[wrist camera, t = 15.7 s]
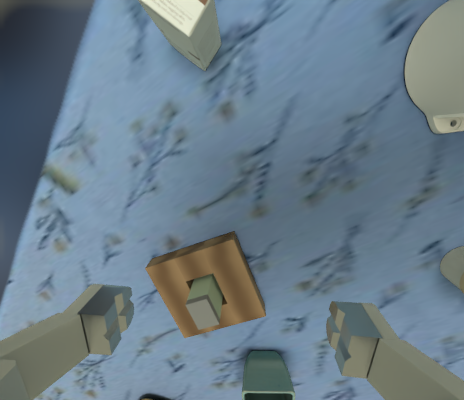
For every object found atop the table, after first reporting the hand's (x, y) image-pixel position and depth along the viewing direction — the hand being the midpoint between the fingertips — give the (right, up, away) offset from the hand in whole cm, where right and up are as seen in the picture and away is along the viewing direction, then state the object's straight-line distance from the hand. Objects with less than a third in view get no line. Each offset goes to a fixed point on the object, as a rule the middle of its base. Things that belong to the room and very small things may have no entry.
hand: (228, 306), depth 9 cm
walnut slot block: (-4, -11, +33) cm, 35 cm away
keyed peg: (-4, -11, +33) cm, 35 cm away
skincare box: (-5, +26, +22) cm, 34 cm away
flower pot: (+7, -29, +38) cm, 48 cm away
